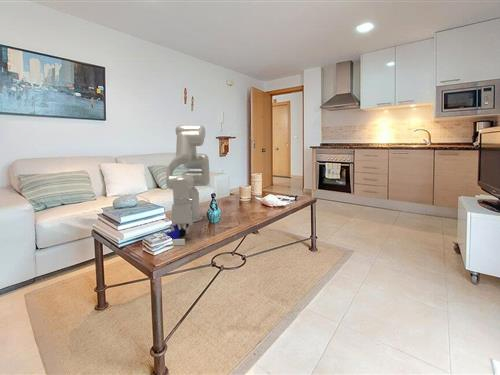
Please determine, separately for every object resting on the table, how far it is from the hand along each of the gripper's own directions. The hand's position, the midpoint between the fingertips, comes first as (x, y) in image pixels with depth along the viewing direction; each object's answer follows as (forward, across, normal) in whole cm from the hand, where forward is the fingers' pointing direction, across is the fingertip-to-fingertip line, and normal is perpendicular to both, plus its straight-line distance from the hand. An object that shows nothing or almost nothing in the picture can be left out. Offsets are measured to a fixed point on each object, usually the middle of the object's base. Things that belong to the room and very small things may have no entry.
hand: (182, 236), depth 137 cm
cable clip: (+1, +3, 0) cm, 4 cm away
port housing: (+2, +3, -1) cm, 3 cm away
